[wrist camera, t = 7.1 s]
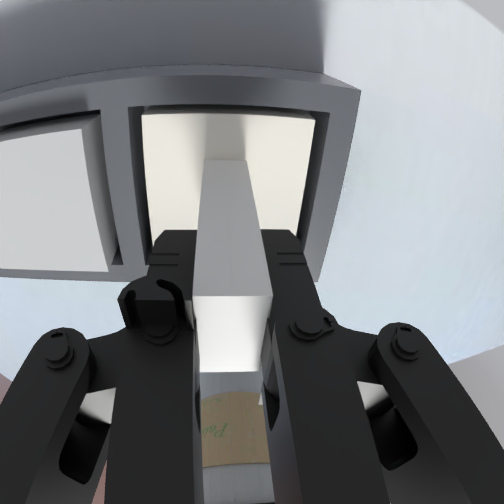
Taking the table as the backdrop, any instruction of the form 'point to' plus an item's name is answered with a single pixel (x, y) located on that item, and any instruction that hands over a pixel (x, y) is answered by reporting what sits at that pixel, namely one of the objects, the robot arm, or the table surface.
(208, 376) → the coffee cup
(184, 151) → the key cream
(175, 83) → the keypad
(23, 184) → the key grey
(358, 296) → the table surface
